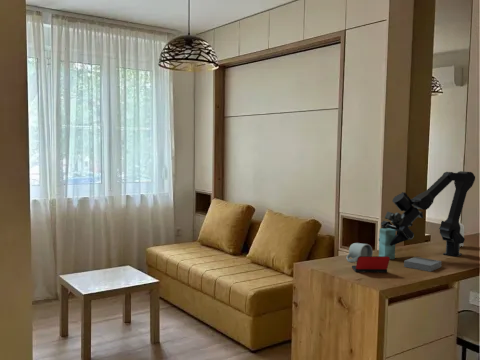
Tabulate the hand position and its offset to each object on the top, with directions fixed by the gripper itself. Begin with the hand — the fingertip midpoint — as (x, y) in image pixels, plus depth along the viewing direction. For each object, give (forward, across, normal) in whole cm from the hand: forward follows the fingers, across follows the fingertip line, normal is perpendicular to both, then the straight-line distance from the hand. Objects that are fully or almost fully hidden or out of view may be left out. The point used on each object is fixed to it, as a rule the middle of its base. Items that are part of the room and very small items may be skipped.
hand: (384, 243), depth 206 cm
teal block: (+4, 0, +6) cm, 7 cm away
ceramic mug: (+15, +2, -5) cm, 16 cm away
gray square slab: (0, +17, +10) cm, 20 cm away
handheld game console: (+18, +19, -7) cm, 27 cm away
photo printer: (-30, -16, +40) cm, 52 cm away
